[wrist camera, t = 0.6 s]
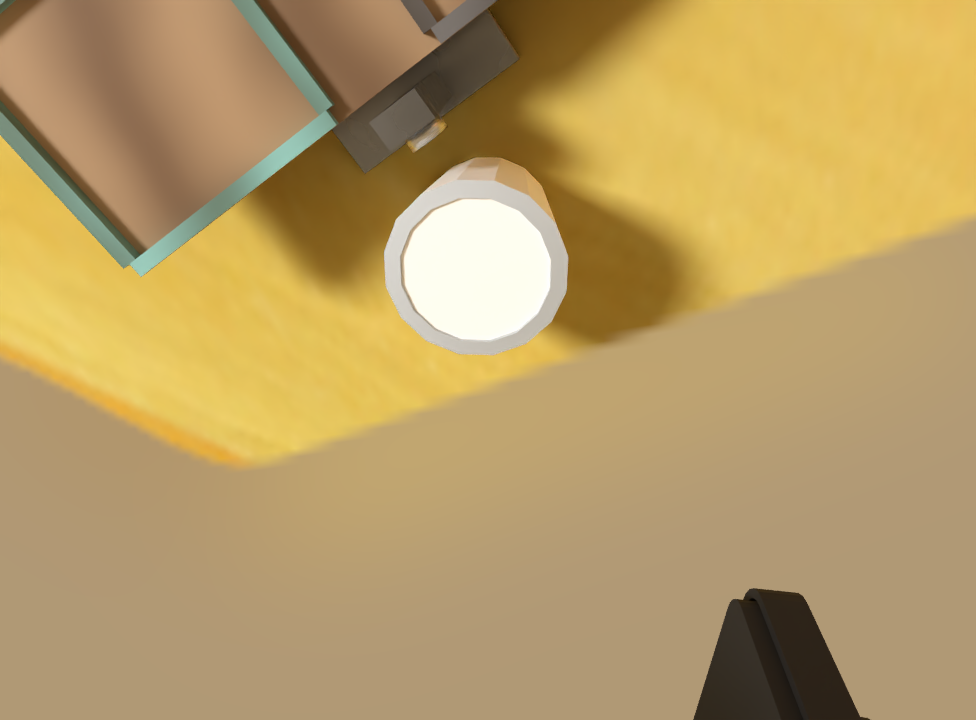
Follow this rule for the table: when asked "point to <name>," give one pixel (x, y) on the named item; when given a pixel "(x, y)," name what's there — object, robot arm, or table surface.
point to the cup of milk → (478, 259)
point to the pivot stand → (427, 93)
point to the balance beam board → (192, 98)
